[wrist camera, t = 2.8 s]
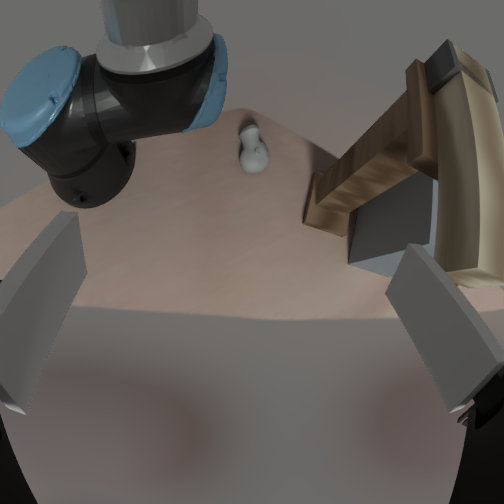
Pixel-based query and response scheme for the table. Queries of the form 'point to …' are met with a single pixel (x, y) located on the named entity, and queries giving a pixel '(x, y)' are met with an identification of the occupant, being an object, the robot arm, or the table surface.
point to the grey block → (395, 224)
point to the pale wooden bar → (467, 169)
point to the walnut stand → (378, 157)
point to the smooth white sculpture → (253, 151)
